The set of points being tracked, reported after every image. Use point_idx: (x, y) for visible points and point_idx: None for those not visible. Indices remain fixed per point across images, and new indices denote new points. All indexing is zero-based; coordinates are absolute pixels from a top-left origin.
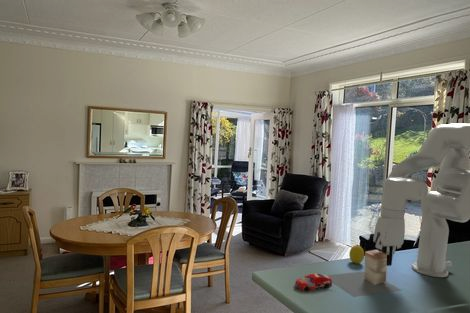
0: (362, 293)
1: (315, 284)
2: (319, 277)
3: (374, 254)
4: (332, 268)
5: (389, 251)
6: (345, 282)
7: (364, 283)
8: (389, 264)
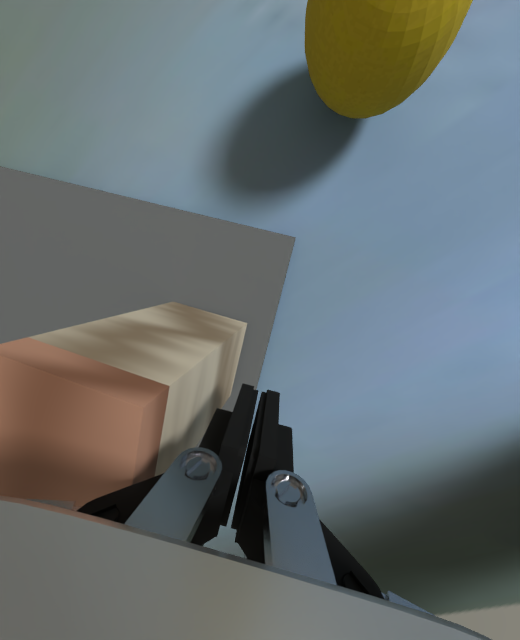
0: None
1: None
2: None
3: (17, 460)
4: (127, 75)
5: (246, 537)
6: (40, 283)
7: None
8: (246, 451)
